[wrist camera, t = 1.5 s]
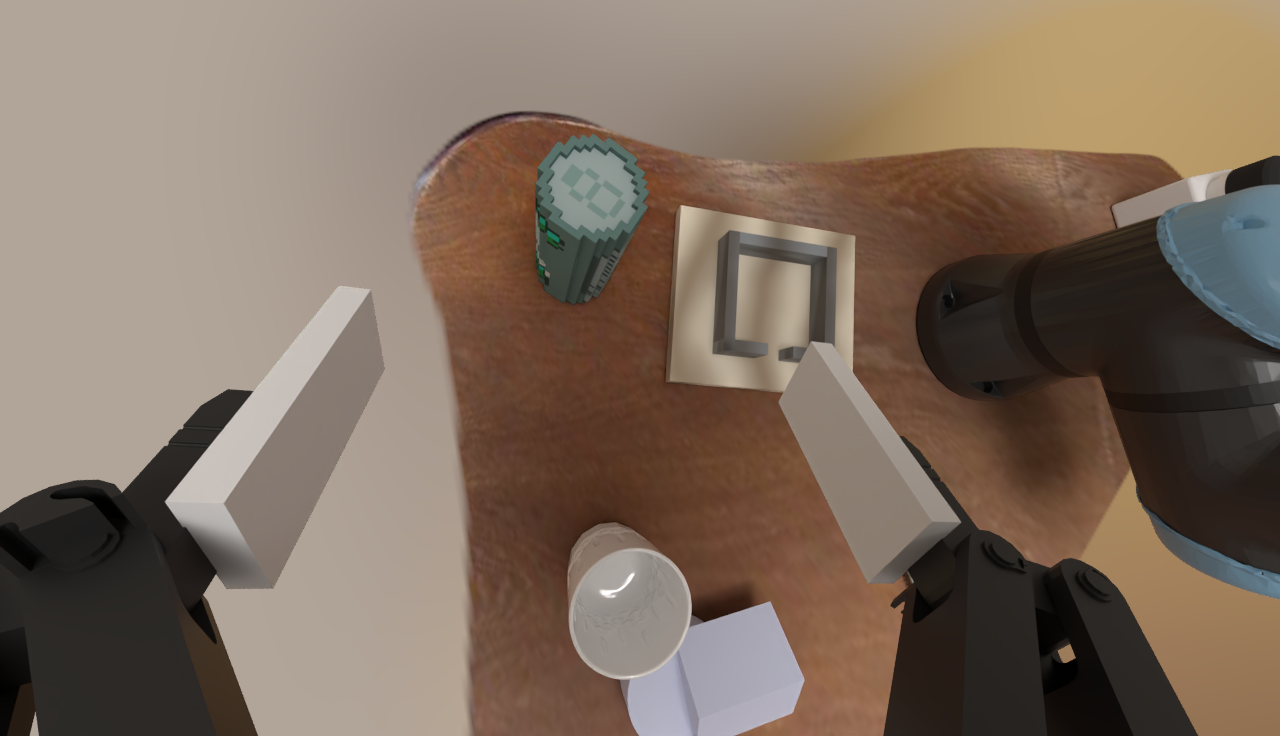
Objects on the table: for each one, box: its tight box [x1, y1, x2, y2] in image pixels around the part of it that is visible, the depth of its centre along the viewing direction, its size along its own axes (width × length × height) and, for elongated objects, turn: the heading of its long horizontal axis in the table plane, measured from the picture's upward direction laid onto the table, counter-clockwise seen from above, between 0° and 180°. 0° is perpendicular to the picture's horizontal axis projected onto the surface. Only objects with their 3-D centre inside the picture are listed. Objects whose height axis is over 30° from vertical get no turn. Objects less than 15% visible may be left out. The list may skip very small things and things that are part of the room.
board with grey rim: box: [665, 205, 855, 393], centre depth 42 cm, size 18×16×4 cm
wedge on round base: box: [620, 602, 804, 736], centre depth 36 cm, size 9×7×13 cm
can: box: [536, 134, 649, 305], centre depth 33 cm, size 6×6×15 cm
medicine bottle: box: [1111, 156, 1280, 228], centre depth 50 cm, size 7×7×12 cm
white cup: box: [567, 522, 692, 680], centre depth 34 cm, size 8×8×10 cm
